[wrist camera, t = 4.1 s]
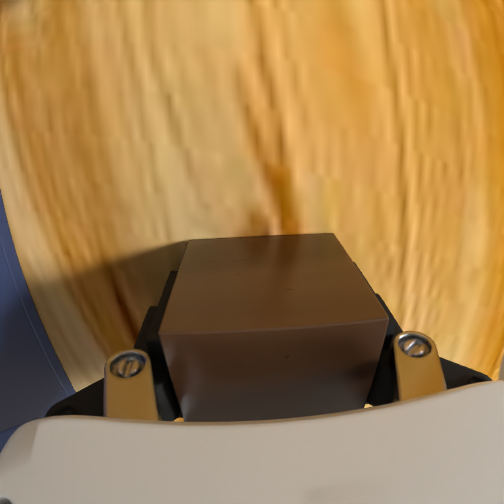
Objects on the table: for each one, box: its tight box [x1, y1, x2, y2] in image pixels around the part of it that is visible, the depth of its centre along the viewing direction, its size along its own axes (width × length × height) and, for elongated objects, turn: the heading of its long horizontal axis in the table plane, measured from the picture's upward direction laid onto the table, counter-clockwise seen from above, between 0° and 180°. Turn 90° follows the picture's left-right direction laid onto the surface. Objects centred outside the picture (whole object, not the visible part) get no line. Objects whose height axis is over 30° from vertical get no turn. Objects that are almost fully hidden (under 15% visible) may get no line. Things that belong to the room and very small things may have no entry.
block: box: [158, 233, 389, 422], centre depth 10 cm, size 5×5×5 cm
